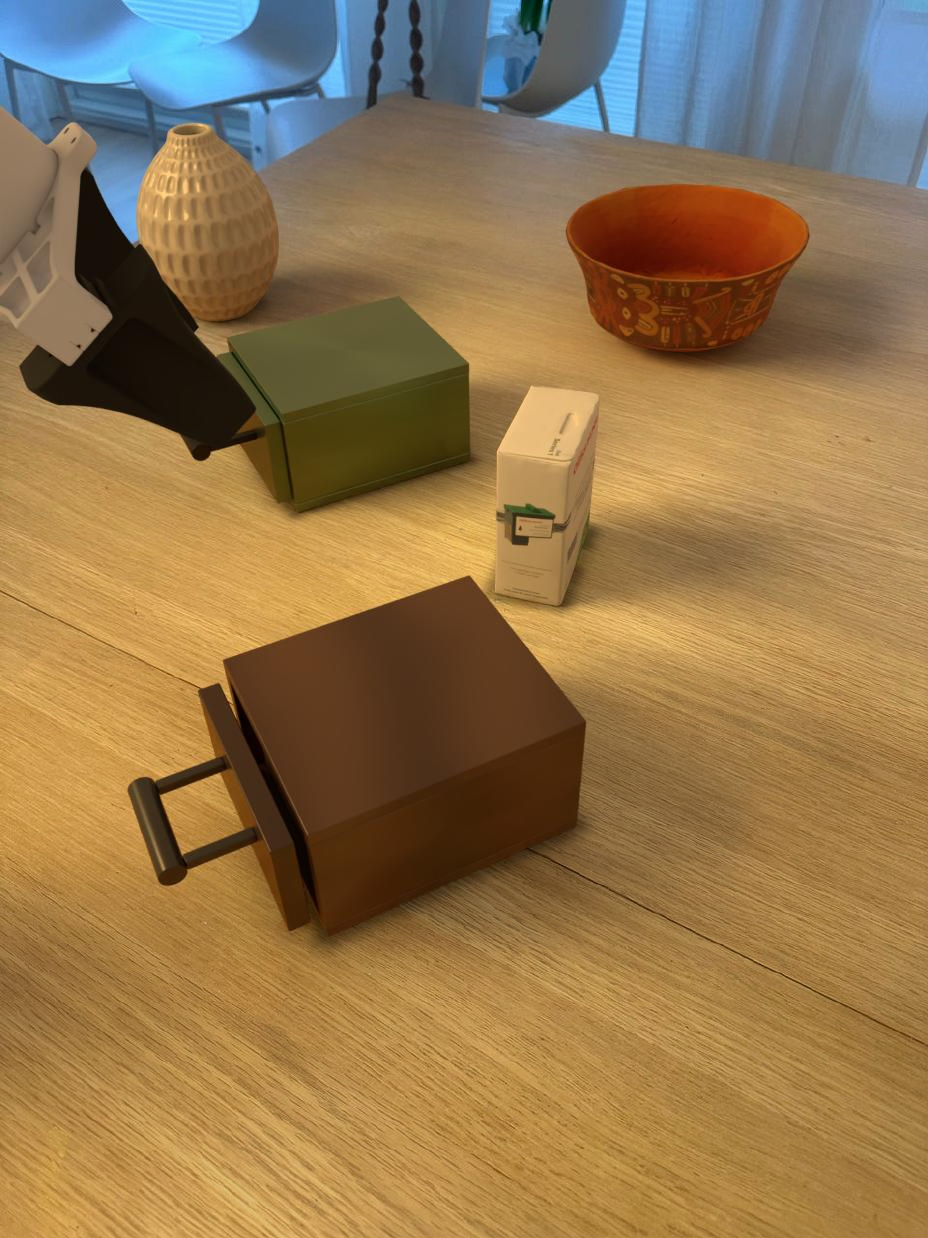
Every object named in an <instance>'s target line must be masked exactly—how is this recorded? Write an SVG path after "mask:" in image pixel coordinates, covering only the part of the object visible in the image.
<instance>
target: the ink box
mask: <svg viewBox="0 0 928 1238" xmlns="http://www.w3.org/2000/svg"><path fill="white" fill-rule="evenodd" d="M600 402H601V395H600V394H599V393H595V392H592V391H591V392H590V391H583V390H572V389H566V388H559V387H552V386H545V385H543V386H542V385H531V386H530V387H529V390H528V392H527V394H526V395H525V396H524V399H523V401H522V403H521V405H520V407H519V409H518V411H517V413H516V414H515V416H514V418H513V420H512V422H511V424H510V426H509V428H508V429H507V431H506V433H505V435H504V437H503V439H502V440H501V442H500V445H499V447H498V448H497V451H496V500H495V501H496V505H495V507H496V508H495V511H496V512H495V519H496V520H495V572H494V573H495V574H494V575H495V576H494V577H495V581H494V583H495V584H494V592H495V594H498V595H502V596H506V597H511V598H514V599H520V600H524V601H528V602H529V601H530V602H533V603H539V604H544V605H550V606H555V607H558V606H560V605H562V603H563V601H564V598H565V595H566V592H567V590H568V587H569V584H570V582H571V579H572V576H573V573H574V572H575V571H574V570H575V568H576V565H577V562H578V560H579V557H580V554H581V551H582V549H583V545H584V542H585V540H586V538H587V535H588V533H589V527H590V518H591V517H590V516H591V506H592V495H593V481H594V473H595V472H594V470H595V459H596V447H597V439H598V437H597V436H598V427H599V415H600Z"/></svg>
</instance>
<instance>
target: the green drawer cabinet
mask: <svg viewBox="0 0 928 1238" xmlns="http://www.w3.org/2000/svg"><path fill="white" fill-rule="evenodd" d="M226 341H227V347H228V352H231V353H232V354H233V356H234V357H235V358H236V360H237V361H238V363H239V364H240V365H241V367H242V368H243V370H244V371H245V372H246V374H247V375H248V377H249V378H250V379H251V381H252V382H253V384H254V385H255V386H257V387H258V388H259V390H260V391H261V392H262V394H263V395H264V397H265V398H266V399H267V401H268V402H269V404H270V405H271V406H272V408H273V409H274V411H275V412H276V413H277V415H278V416H279V418H280V421H281V428H282V434H283V441H284V447H285V453H286V460H287V466H288V473H289V479H290V485H291V492H292V499H291V500H288V501H289V502H290V504H291V505H292V507H293V508H294V510H295V511H296V513H297V514H299V513H302V512H305V511H309V510H312V509H316V508H318V507H321V506H326V505H328V504H331V503H335V502H338V501H342V500H344V499H348V498H352V497H354V496H358V495H361V494H364V493H368V492H371V491H374V490H379V489H380V488H381V489H382V488H384V487H388V486H391V485H394V484H398V483H401V482H403V481H407V480H411V479H414V478H418V477H421V476H424V475H428V474H430V473H433V472H437V471H440V470H443V469H447V468H450V467H453V466H457V465H460V464H463V463H467V462H470V461H471V415H470V413H471V412H470V411H471V409H470V407H471V405H470V403H471V402H470V362H468V361H467V360H466V358H464V357H463V356H462V354H460V353H459V352H458V351H457V350H456V349H455V348H454V347H453V346H452V345H451V344H450V343H449V342H447V340H446V339H444V338H443V337H442V335H440V334H439V333H438V332H437V331H436V329H434V328H433V327H432V326H431V325H430V324H429V323H428V322H427V321H426V320H425V319H424V318H423V317H422V316H420V315H419V314H418V313H417V312H416V311H415V310H414V308H412V307H411V305H409V304H408V303H407V302H406V301H405V300H404V299H403V298H402V297H401V296H400V295H395V296H391V297H388V298H383V299H380V300H375V301H371V302H367V303H362V304H359V305H355V306H351V307H346V308H342V309H338V310H334V311H330V312H326V313H321V314H317V315H313V316H309V317H304V318H301V319H300V318H299V319H297V320H293V321H292V320H291V321H288V322H285V323H280V324H276V325H272V326H267V327H263V328H259V329H255V330H251V331H247V332H243V333H238V334H235V335H230V336H226Z"/></svg>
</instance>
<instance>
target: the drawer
mask: <svg viewBox="0 0 928 1238" xmlns="http://www.w3.org/2000/svg"><path fill="white" fill-rule="evenodd" d="M215 356H216V357H217V359H218V360H219V361H220V362H221V363H222V364H223V365H224V366H225V367H226V368H227V369H228V371H229V372H230V373H231V374H232V375H233V376H234V377H235V379H236V380H237V381H238V382H239V384H240V385H241V386H242V388H243V389H244V390H245V392H246V393H247V395H248V396H249V397H250V399H251V400H252V402H253V403H254V405H255V407H256V411H255V413H254V414H253V415H252V416H251V417H250V418H249V420H248V421H247V422H246V423H245V424H244V425H243V426H242V427H241V428H240V429H239V431H238V432H237V433H236V434H235V435H234V436H233V437H232V438H231V439H230V440H229V442H228V443H227V444H226V445H225V446H224V447H223V448H216V447H213V446H210V445H207V444H204V443H201V442H198V441H196V440H193V439H190V438H188V437H185V436H183V435H181V434H179V436H180V437H181V439H182V441H183V443H184V444H185V446H186V448H187V450H188V452H189V454H190V455H191V458H193V459H194V460H195V461H197V462H204V461H206V460H208V459H209V458H210V457H211V454H212V453H213V452H216V451H219V450H223V449H224V450H225V449H227V448H231V447H234V446H238V445H240V446H241V448H242V450H243V451H244V453H245V454H246V456H247V459H249V461H250V462H251V464H252V465H253V467H254V469H255V470H256V472H257V473H258V475H259V476H260V478H261V479H262V481H263V482H264V484H265V486H266V488H267V489H268V490H269V492H270V493H271V495H272V496H273V498H274V500H275V501H276V503H277V504H281V503H285V502H287V501H289V500H291V499H292V492H291V485H290V479H289V473H288V466H287V460H286V453H285V447H284V441H283V434H282V428H281V421H280V418H279V416H278V415H277V413H276V412H275V411H274V409H273V408H272V406H271V405H270V404H269V402H268V401H267V399H266V398H265V397H264V395H263V394H262V392H261V391H260V390H259V388H258V387H257V386H255V385H254V384H253V382H252V381H251V379H250V378H249V377H248V375H247V374H246V372H245V371H244V370H243V368H242V367H241V365H240V364H239V363H238V361H237V360H236V358H235V357H234V356H233V354H232V353H231V352H229V351H227V352H223V353H219V354H216V355H215Z"/></svg>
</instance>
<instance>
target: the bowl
mask: <svg viewBox="0 0 928 1238" xmlns="http://www.w3.org/2000/svg"><path fill="white" fill-rule="evenodd" d="M565 237H566V241H567V243H568V246H569V248H570V250H571V252H572V253H573V255H574V257H575V258H576V261H577V263H578V265H579V267H580V269H581V271H582V275H583V279H584V284H585V288H586V298H587V304H588V308H589V311H590V314H591V316H592V317H593V320H595V322H596V323H597V325H599V327H601V328H602V329H603V330H605V332H606V333H608V334H610V335H612V336H614V337H615V338H617V339H618V340H621V341H623V342H625V343H627V344H629V345H633V346H637V347H641V348H645V349H650V350H658V351H668V352H701V351H706V350H708V351H709V350H713V349H716V348H722V347H726V346H730V345H733V344H734V343H737V342H739V341H742V340H744V339H746V338H747V337H750V336H751V335H752V334H754V333H755V332H757V330H759V329H761V327H762V326H763V325H764V323H765V322H766V320H767V319H768V316H769V314H770V312H771V309H772V306H773V304H774V302H775V299H776V295H777V293H778V290H779V288H780V286H781V284H782V282H783V280H784V279H785V278H786V276H787V274H788V273H789V271H790V270H791V269H792V267H793V266H794V265H795V264H796V263H797V261H798V260H799V259H800V257H801V256H802V254H803V253H804V251H805V249H806V248H807V246H808V243H809V240H810V237H811V235H810V228H809V225H808V223H807V222H806V220H805V219H804V217H802V215H800V214H799V213H797V212H796V211H795V210H794V209H792V208H791V207H789V206H787V205H786V204H784V203H782V202H781V201H779V200H777V199H775V198H772V197H769V196H766V195H763V194H760V193H756V192H753V191H749V190H746V189H743V188H735V187H728V186H719V185H711V184H689V183H673V184H672V183H670V184H656V185H655V184H654V185H638V186H633V187H631V186H630V187H623V188H621V189H618V190H615V191H611V192H608V193H606V194H602V195H599V196H598V197H595V198H594V199H591V200H589V201H587V202H585V203H584V204H582V205H581V206H579V207H578V208H577V209H576V210H575V211H574V212H573V213H572V215H571V216H570V218H569V220H568V221H567V224H566V228H565Z"/></svg>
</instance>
